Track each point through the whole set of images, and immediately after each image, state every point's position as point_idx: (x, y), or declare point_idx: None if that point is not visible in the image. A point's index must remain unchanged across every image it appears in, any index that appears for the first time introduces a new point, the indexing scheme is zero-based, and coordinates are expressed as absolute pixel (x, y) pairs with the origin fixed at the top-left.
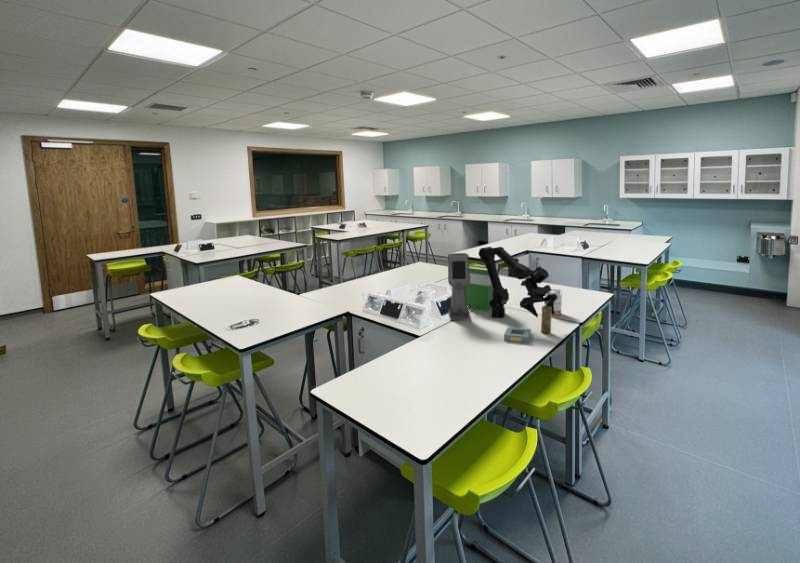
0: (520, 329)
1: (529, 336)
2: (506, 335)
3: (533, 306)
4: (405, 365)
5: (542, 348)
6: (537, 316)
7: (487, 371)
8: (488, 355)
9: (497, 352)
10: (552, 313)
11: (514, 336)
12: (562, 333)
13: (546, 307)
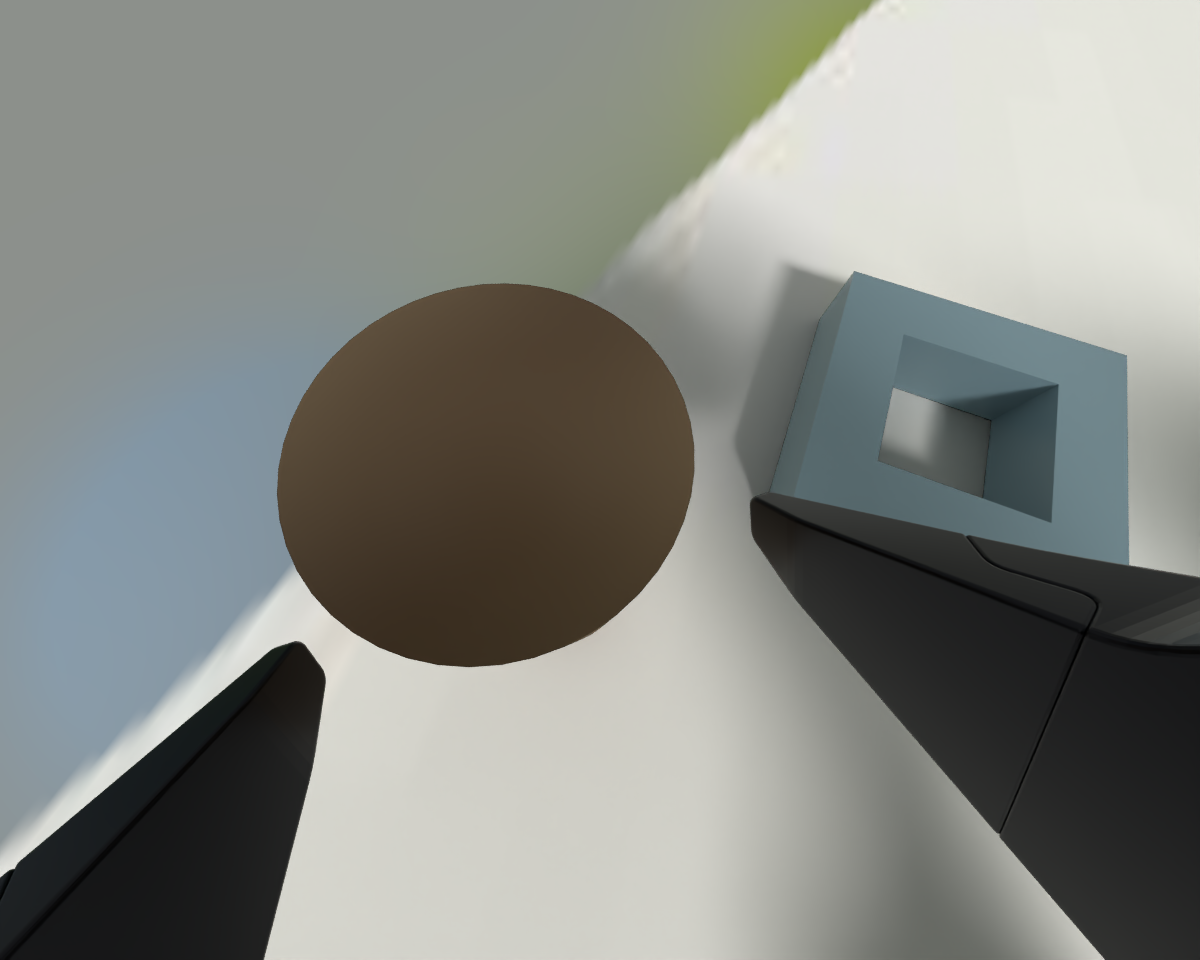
0: (935, 504)
1: (807, 394)
2: (1087, 351)
3: (1108, 620)
4: None
5: (715, 219)
6: (759, 502)
7: (1080, 5)
8: (1123, 153)
9: (1067, 187)
10: (309, 688)
11: (993, 324)
12: None
13: (513, 428)
